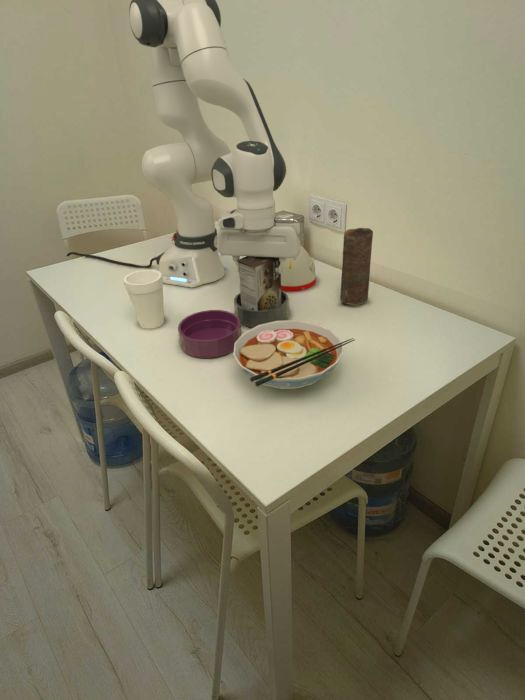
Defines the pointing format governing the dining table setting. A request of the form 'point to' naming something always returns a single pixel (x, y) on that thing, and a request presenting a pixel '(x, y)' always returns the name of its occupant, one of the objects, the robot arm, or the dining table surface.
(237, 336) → the plum bowl
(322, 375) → the ramen bowl
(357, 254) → the brown tall cylinder
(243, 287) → the printed food box
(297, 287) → the white chicken egg cooker
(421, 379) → the dining table surface
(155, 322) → the foam cup
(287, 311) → the grey bowl
